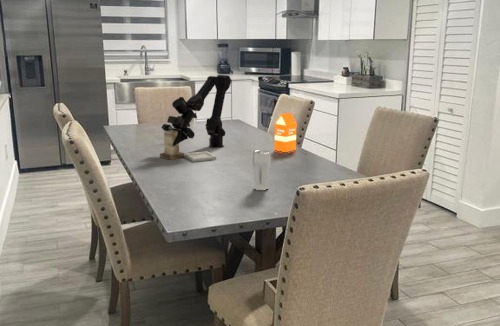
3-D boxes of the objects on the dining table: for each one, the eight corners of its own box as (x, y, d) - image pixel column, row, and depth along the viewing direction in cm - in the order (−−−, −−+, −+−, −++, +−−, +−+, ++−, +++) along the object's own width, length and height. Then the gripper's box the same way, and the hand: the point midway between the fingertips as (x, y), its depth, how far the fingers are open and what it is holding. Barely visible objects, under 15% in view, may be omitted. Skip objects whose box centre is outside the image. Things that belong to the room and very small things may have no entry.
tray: (207, 154, 248) (207, 151, 247) (216, 159, 237) (216, 156, 237) (184, 156, 242) (184, 153, 242) (193, 162, 232) (193, 158, 232)
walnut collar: (172, 154, 247) (172, 150, 247) (184, 156, 242) (184, 153, 242) (159, 157, 241) (159, 153, 240) (171, 160, 236) (171, 156, 235)
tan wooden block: (172, 155, 245) (171, 130, 242) (179, 157, 242) (178, 131, 239) (164, 157, 241) (164, 131, 238) (171, 158, 238) (171, 132, 235)
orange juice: (295, 150, 259) (297, 113, 254) (285, 153, 252) (286, 115, 247) (284, 148, 264) (285, 111, 259) (274, 150, 257) (274, 113, 253)
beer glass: (251, 186, 194) (251, 149, 191) (268, 186, 195) (269, 149, 191) (253, 191, 187) (253, 153, 184) (270, 191, 188) (271, 153, 184)
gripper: (163, 108, 244) (147, 132, 239) (189, 111, 233) (173, 137, 227) (175, 121, 252) (160, 145, 247) (201, 125, 241) (186, 150, 235)
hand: (169, 144), depth 239 cm, fingers closed on tan wooden block, 5 cm apart
